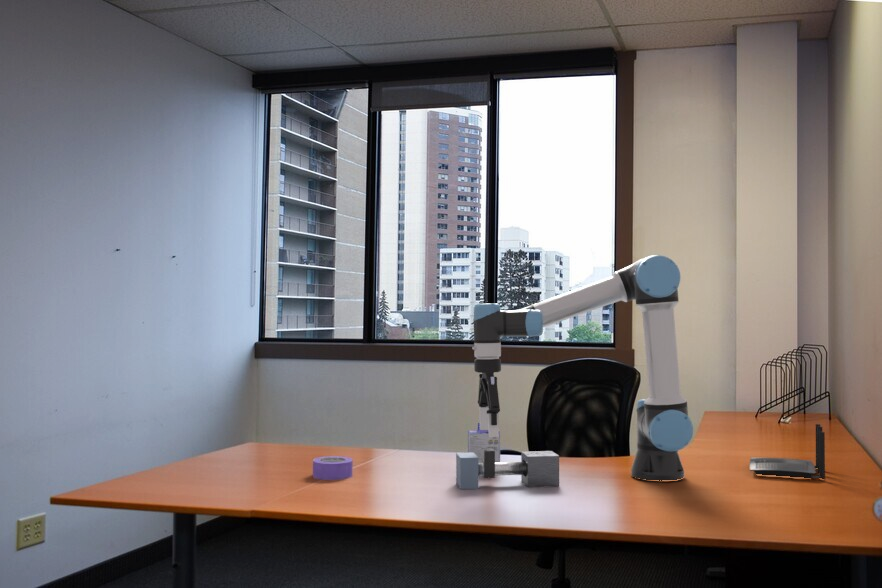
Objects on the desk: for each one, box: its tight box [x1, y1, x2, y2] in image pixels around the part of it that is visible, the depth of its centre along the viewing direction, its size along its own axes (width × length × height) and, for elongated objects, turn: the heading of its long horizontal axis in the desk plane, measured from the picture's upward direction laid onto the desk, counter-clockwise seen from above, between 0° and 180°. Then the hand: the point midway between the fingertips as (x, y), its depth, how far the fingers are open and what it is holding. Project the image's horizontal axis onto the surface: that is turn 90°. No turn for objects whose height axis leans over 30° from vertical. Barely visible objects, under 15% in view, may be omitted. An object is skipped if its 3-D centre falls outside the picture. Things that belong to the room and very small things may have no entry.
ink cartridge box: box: [467, 422, 501, 463], centre depth 252 cm, size 10×6×14 cm, turn 90°
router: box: [749, 423, 826, 480], centre depth 249 cm, size 21×20×15 cm
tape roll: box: [312, 455, 354, 481], centre depth 245 cm, size 12×12×5 cm
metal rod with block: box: [478, 448, 526, 479], centre depth 232 cm, size 18×5×8 cm, turn 97°
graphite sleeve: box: [520, 450, 560, 488], centre depth 234 cm, size 9×8×8 cm
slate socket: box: [455, 452, 479, 490], centre depth 231 cm, size 5×8×9 cm, turn 7°
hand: (488, 433), depth 232 cm, fingers open, 13 cm apart
